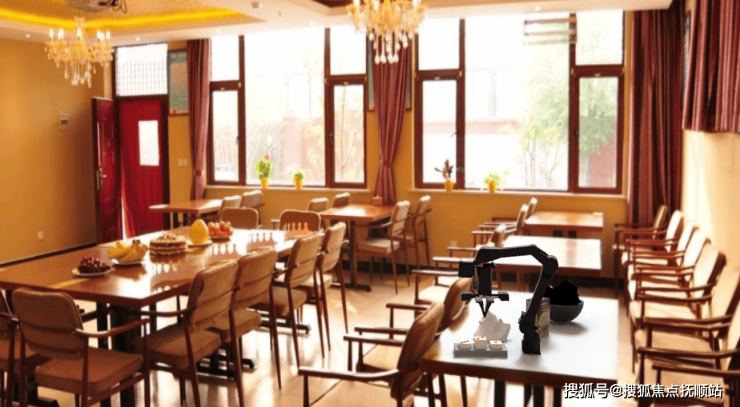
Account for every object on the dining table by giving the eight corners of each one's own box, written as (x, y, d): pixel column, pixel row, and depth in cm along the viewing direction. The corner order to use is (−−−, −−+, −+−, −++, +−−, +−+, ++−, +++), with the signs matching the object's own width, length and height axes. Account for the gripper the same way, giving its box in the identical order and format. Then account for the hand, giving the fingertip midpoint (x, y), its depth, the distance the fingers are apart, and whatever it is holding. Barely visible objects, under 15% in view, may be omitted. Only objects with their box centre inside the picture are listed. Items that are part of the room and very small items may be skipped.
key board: (504, 349, 266) (504, 343, 266) (507, 356, 257) (507, 350, 257) (454, 349, 268) (454, 343, 267) (455, 356, 259) (455, 350, 258)
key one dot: (500, 350, 264) (500, 340, 264) (502, 354, 260) (502, 343, 259) (489, 350, 264) (489, 340, 264) (490, 354, 260) (490, 343, 259)
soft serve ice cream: (509, 348, 272) (505, 317, 268) (472, 348, 277) (468, 318, 272) (511, 332, 283) (507, 302, 279) (475, 333, 288) (472, 303, 284)
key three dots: (470, 350, 265) (470, 339, 264) (470, 353, 260) (470, 343, 260) (458, 350, 265) (458, 339, 265) (459, 353, 261) (459, 343, 260)
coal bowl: (590, 321, 305) (591, 280, 303) (571, 331, 290) (571, 288, 289) (550, 314, 318) (550, 275, 317) (529, 323, 304) (530, 282, 302)
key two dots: (485, 346, 264) (485, 336, 264) (486, 349, 260) (486, 339, 259) (474, 346, 265) (474, 335, 264) (475, 349, 260) (475, 339, 260)
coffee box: (538, 339, 278) (538, 302, 277) (524, 336, 283) (525, 299, 281) (549, 335, 285) (550, 298, 283) (536, 332, 289) (537, 295, 288)
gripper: (506, 274, 271) (505, 312, 273) (459, 274, 273) (459, 312, 274) (509, 280, 260) (509, 319, 262) (461, 280, 262) (461, 319, 263)
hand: (484, 317), depth 265 cm, fingers closed
